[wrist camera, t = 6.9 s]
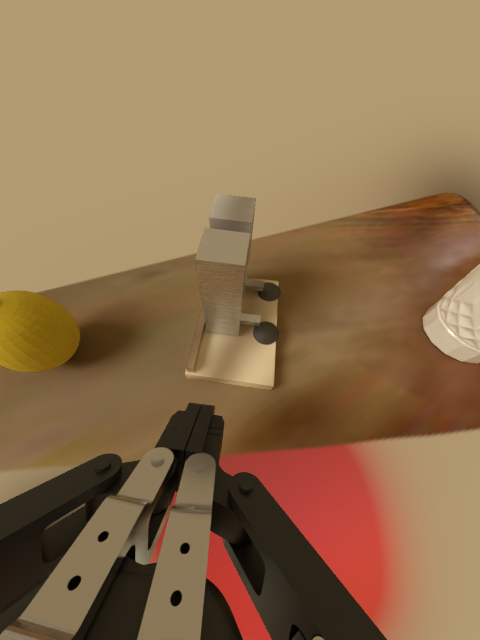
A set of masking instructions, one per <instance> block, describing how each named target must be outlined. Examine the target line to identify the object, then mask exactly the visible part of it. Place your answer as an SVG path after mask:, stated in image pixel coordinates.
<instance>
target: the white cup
mask: <svg viewBox="0 0 480 640" xmlns="http://www.w3.org/2000/svg"><path fill="white" fill-rule="evenodd" d="M423 328H424V331H425V332H426V334H427V336H428V337H429V339H430V341H431V342H432V343H433V344H434V345H435V346H436V347H437V348H439V349H440V350H441V351H442V352H443V353H445V354H446V355H448V356H450V357H453V358H455V359H457V360H459V361H461V362H469V363H480V264H479V265H478V266H477V267H475V268H474V269H473V270H472V271H471V272H469V273H468V274H467V275H466V276H465V277H464V278H463V279H462V280H461V281H459V282H458V283H457V284H456V285H455V286H454V287H453V288H451V289H450V290H449V291H448V292H447V293H446V294H445V295H444V296H443V297H442V298H441V299H440V300H439V301H438V302H437V303H435V304H434V305H433V306H432V307H431V308H429V309H428V310H427V312H426V313H425V315H424V316H423Z"/></svg>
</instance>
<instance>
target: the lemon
mask: <svg viewBox="0 0 480 640" xmlns="http://www.w3.org/2000/svg"><path fill="white" fill-rule="evenodd" d="M79 342H80V329H79V327H78V325H77V322H76V320H75V319H74V317H73V316H72V315H71V314H70V313H69V312H68V311H67V310H66V309H65V308H64V307H63V306H61V305H60V304H58V303H57V302H55V301H53V300H51V299H49V298H47V297H45V296H43V295H40V294H37V293H33V292H27V291H8V292H2V293H0V365H1V366H4V367H6V368H9V369H12V370H16V371H23V372H40V371H46V370H50V369H53V368H56V367H58V366H60V365H61V364H63V363H65V362H66V361H67V360H69V359H70V358H71V357H72V356H73V354H74V353H75V352H76V350H77V348H78V346H79Z"/></svg>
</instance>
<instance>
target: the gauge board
mask: <svg viewBox="0 0 480 640" xmlns="http://www.w3.org/2000/svg"><path fill="white" fill-rule="evenodd" d="M255 201H256V199H255V198H247V197H239V196H231V195H223V194H217V196H216V198H215V201H214V205H213V208H212V211H211V214H210V217H209V220H210V228H212V229H220V230H228V231H236V232H244V233H250V240H249V250H248V260H247V270H246V279H245V289H244V299H243V309H242V313H245V314H252V315H260V316H261V320H260V326H254V325H246V324H240V329H239V336H231V335H223V334H216V333H209V332H206V326H205V320H204V313H203V307H202V309H201V313H200V316H199V320H198V324H197V328H196V331H195V335H194V339H193V343H192V347H191V350H190V354H189V358H188V362H187V365H186V371H185V375H186V377H187V378H189V379H196V380H203V381H210V382H217V383H225V384H232V385H239V386H246V387H253V388H260V389H267V390H272V388H273V387H274V371H275V350H276V340H277V338H278V336H279V331H278V329H277V308H278V298H279V296H280V289H279V281H272V280H264V279H256V278H248V277H247V274H248V265H249V256H250V247H251V238H252V229H253V220H254V211H255Z"/></svg>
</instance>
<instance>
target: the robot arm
mask: <svg viewBox="0 0 480 640" xmlns="http://www.w3.org/2000/svg"><path fill="white" fill-rule="evenodd" d="M214 410H215V406H212V405H204V404H196V403H189V404H188V406H187V409H186V411H177V412H176V413H175V414H174V415H172V417H171V419H170V421H169V423H168V424H167V426H166V429H165V430H164V432H163V434H162V435H161V437H160V439H159V441H158V443H157V445H156V446H155V448H154V449H151V450H150V451H148V452H147V453H146V454H145V455H144V456H143V457H142V459H141V460H138V461H133V462H126V463H122V460H121V458H120V457H119V456H118V455H116V454H103V455H100V456H98V457H96V458H94V459H92V460H90V461H88V462H86V463H84V464H82V465H79V466H77V467H75V468H73V469H71V470H69V471H67V472H65V473H63V474H61V475H59V476H57V477H55V478H53V479H51V480H49V481H47V482H45V483H43V484H41V485H39V486H37V487H35V488H33V489H31V490H29V491H27V492H24V493H22V494H21V495H18V496H16V497H14V498H12V499H10V500H8V501H6V502H4V503H2V504H0V640H243V639H242V636H241V634H240V631H239V629H238V626H237V624H236V621H235V619H234V616H233V614H232V611H231V609H230V607H229V605H228V603H227V601H226V599H225V598H224V596H223V595H222V593H221V592H220V590H219V589H218V588H217V587H216V586H215V585H214V584H213V583H212V582H211V581H209V580H208V579H207V578H206V571H207V560H208V549H209V537H210V531H212V532H213V533H215V534H217V535H219V536H221V537H222V538H223V543H224V546H225V548H226V550H227V552H228V554H229V556H230V558H231V560H232V562H233V564H234V566H235V568H236V570H237V572H238V574H239V576H240V578H241V580H242V581H243V583H244V585H245V587H246V589H247V591H248V593H249V595H250V597H251V599H252V601H253V603H254V605H255V607H256V609H257V611H258V613H259V615H260V617H261V619H262V621H263V623H264V625H265V626H266V629H267V631H268V632H269V634H270V636H271V638H272V640H387V639H386V638H385V637H384V635H383V634H382V633H381V632H380V630H379V629H378V628H377V627H376V625H375V624H374V623H373V622H372V620H371V619H370V618H369V617H368V615H367V614H366V613H365V612H364V610H363V609H362V608H361V607H360V605H359V604H358V603H357V602H356V600H355V599H354V598H353V597H352V596H351V594H350V593H349V592H348V590H347V589H346V588H345V587H344V585H343V584H342V583H341V582H340V580H339V579H338V578H337V577H336V575H335V574H334V573H333V572H332V570H331V569H330V568H329V567H328V566H327V564H326V563H325V562H324V561H323V559H322V558H321V557H320V556H319V554H318V553H317V552H316V551H315V549H314V548H313V547H312V546H311V544H309V542H308V541H307V540H306V538H305V537H304V536H303V534H302V533H301V532H300V531H299V529H298V528H297V527H296V526H295V524H294V523H293V522H292V521H291V519H290V518H289V517H288V516H287V514H286V513H285V512H284V511H283V509H282V508H281V507H280V506H279V505H278V503H277V502H276V501H275V499H274V498H273V497H272V496H271V494H270V493H269V492H268V491H267V489H266V488H265V487H264V486H263V484H262V483H261V482H260V481H259V479H258V478H257V477H255V476H254V475H252V474H250V473H247V472H242V473H238V474H236V475H234V476H231V475H229V474H227V473H225V472H224V471H223V470H222V469H221V468H220V466H219V458H220V453H221V447H222V439H223V430H224V420H223V418H222V416H218V415H214ZM175 491H176V492H178V493H177V498H176V502H175V505H174V506H173V507H172V509H171V502H172V499H173V496H174V493H175ZM84 503H85V506H84V507H82V508H80V509H79V510H77V511H76V512H74V513H72V514H71V515H69V516H67V517H66V518H65V519H63V520H61V521H59V522H58V523H56V524H54V525H53V526H51V527H49V528H48V529H46V530H45V528H46V527H47V526H49V525H50V524H51V523H52V522H54V521H56V520H57V519H59V518H61V517H63V516H64V515H66V514H67V513H69V512H71V511H72V510H74V509H76V508H77V507H79V506H81V505H82V504H84ZM170 509H171V512H170V515H169V519H168V523H167V527H166V531H165V534H164V538H163V542H162V546H161V550H160V554H159V558H158V561H157V563H152V564H149V560H150V558H151V555H152V552H153V550H154V548H155V545H156V543H157V540H158V538H159V535H160V533H161V531H162V528H163V526H164V523H165V521H166V518H167V516H168V514H169V511H170Z"/></svg>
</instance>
